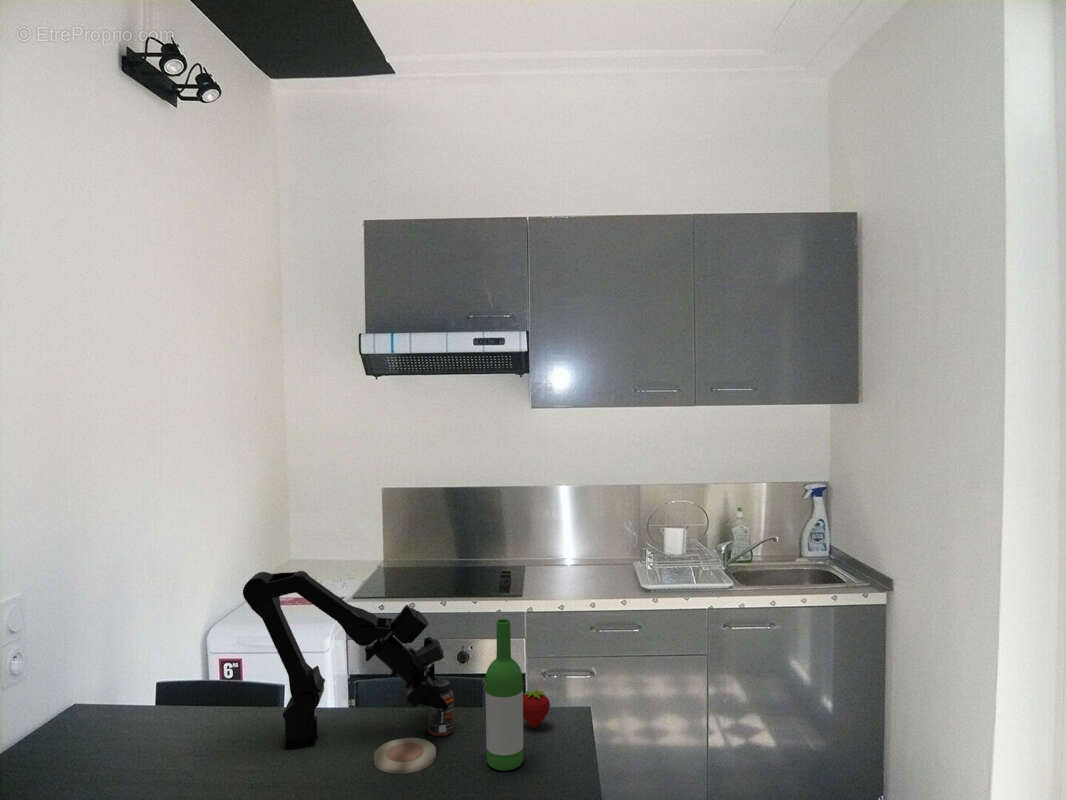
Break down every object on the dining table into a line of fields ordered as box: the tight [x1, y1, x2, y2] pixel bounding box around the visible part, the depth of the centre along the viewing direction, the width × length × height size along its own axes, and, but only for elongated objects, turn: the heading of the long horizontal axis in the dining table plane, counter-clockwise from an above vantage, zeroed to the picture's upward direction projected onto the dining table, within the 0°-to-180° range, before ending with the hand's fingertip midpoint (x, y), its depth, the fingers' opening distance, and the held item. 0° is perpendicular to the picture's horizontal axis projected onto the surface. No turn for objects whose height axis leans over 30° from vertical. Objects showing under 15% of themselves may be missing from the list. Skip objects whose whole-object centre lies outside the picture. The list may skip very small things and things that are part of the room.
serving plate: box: [373, 737, 437, 775], centre depth 157 cm, size 13×13×1 cm
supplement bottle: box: [427, 679, 455, 737], centre depth 169 cm, size 6×6×11 cm
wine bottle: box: [485, 618, 524, 771], centre depth 154 cm, size 8×8×30 cm
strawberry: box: [523, 683, 551, 729], centre depth 170 cm, size 6×8×10 cm
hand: (446, 702), depth 169 cm, fingers closed on supplement bottle, 6 cm apart
